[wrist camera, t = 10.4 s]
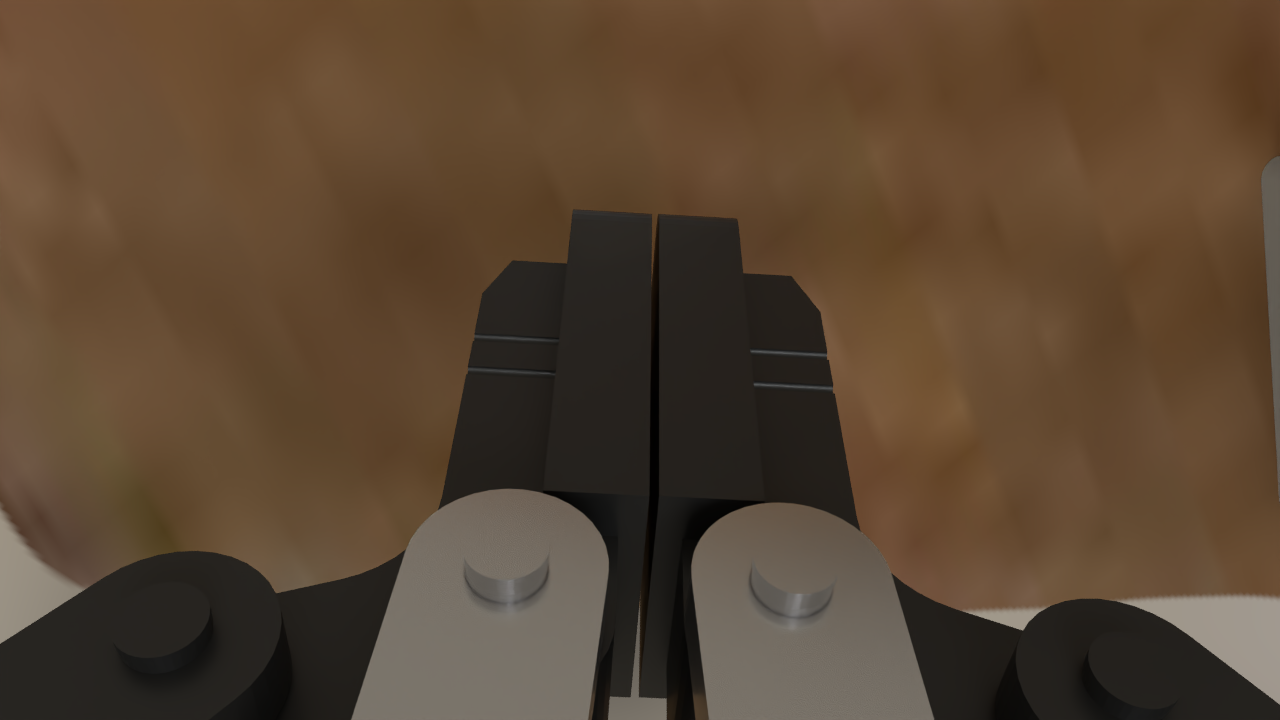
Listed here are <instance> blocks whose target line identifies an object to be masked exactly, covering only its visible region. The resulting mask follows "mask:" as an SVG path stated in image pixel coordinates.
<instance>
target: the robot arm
mask: <svg viewBox="0 0 1280 720" xmlns="http://www.w3.org/2000/svg"><path fill="white" fill-rule="evenodd" d="M651 259H652V214H643V213H626V212H609V211H591V210H574V209H573V215H572V223H571V233H570V242H569V251H568V261H567V264H563V263H545V262H528V261H512V262H511V263H510V264H509V265H508V266H507V267H506V268H505V269H504V270H503V272H502V273H501V274H500V275H499V276H498V277H497V278H496V279H495V280H494V281H493V283H492V284H491V285H490V286H489V287H488V288H487V289H486V290H485V291H484V292H483V294H482V299H481V304H480V309H479V314H478V319H477V324H476V329H475V338H474V341H473V344H472V349H471V354H470V359H469V364H468V374H466V379H465V384H464V389H463V394H462V399H461V404H460V409H459V414H458V419H457V424H456V429H455V434H454V439H453V444H452V450H451V455H450V460H449V465H448V470H447V475H446V480H445V485H444V490H443V495H442V499H441V502H440V505H439V508H438V511H437V512H435V513H434V514H432V515H431V516H430V517H429V518H428V519H427V520H426V521H425V522H424V523H423V524H422V525H421V526H420V527H419V528H418V530H417V531H416V532H415V534H414V535H413V537H412V538H411V540H410V542H409V545H408V547H407V549H406V550H405V551H403V552H402V553H400V554H399V555H398V556H396V557H395V558H393V559H391V560H390V561H388V562H386V563H384V564H382V565H380V566H379V567H376V568H374V569H371V570H369V571H366V572H364V573H362V574H359V575H355V576H352V577H348V578H344V579H341V580H336V581H332V582H327V583H322V584H318V585H313V586H309V587H304V588H299V589H295V590H290V591H286V592H281V593H275V591H274V590H273V588H272V586H271V585H270V583H269V582H268V581H267V580H266V578H265V577H264V576H263V575H262V574H261V573H260V572H259V571H257V570H256V569H254V568H253V567H251V566H250V565H248V564H247V563H245V562H242V561H240V560H238V559H235V558H233V557H230V556H226V555H222V554H218V553H212V552H201V551H187V552H174V553H168V554H162V555H157V556H154V557H150V558H147V559H143V560H140V561H137V562H135V563H132V564H130V565H128V566H125V567H123V568H120V569H119V570H117V571H115V572H113V573H111V574H110V575H108V576H106V577H104V578H103V579H101V580H99V581H98V582H96V583H95V584H93V585H92V586H90V587H89V588H87V589H85V590H84V591H82V592H81V593H79V594H78V595H76V596H75V597H73V598H72V599H70V600H68V601H67V602H65V603H63V604H62V605H60V606H59V607H57V608H56V609H54V610H53V611H51V612H49V613H48V614H46V615H45V616H43V617H42V618H40V619H39V620H37V621H36V622H34V623H32V624H31V625H29V626H28V627H26V628H24V629H23V630H21V631H20V632H18V633H17V634H15V635H14V636H12V637H10V638H9V639H7V640H6V641H4V642H2V643H1V644H0V720H608V712H609V699H610V696H613V697H631V687H632V676H633V665H634V654H635V644H636V634H637V623H638V612H639V602H640V658H639V697H647V698H667V720H1280V705H1279V704H1278V703H1277V702H1275V701H1274V700H1273V699H1271V698H1270V697H1269V696H1268V695H1266V694H1265V693H1263V692H1262V691H1261V690H1260V689H1258V688H1257V687H1256V686H1254V685H1253V684H1252V683H1251V682H1249V681H1248V680H1247V679H1245V678H1244V677H1243V676H1241V675H1240V674H1238V673H1237V672H1236V671H1235V670H1233V669H1232V668H1231V667H1229V666H1228V665H1227V664H1226V663H1224V662H1223V661H1222V660H1220V659H1219V658H1218V657H1216V656H1215V655H1214V654H1212V653H1211V652H1210V651H1209V650H1207V649H1206V648H1204V647H1203V646H1202V645H1201V644H1199V643H1198V642H1197V641H1195V640H1194V639H1193V638H1191V637H1190V636H1189V635H1187V634H1186V633H1184V632H1183V631H1182V630H1180V629H1179V628H1177V627H1176V626H1174V625H1173V624H1171V623H1169V622H1168V621H1166V620H1164V619H1162V618H1160V617H1158V616H1156V615H1154V614H1153V613H1150V612H1147V611H1145V610H1142V609H1140V608H1137V607H1135V606H1131V605H1128V604H1124V603H1120V602H1116V601H1109V600H1102V599H1077V600H1070V601H1064V602H1061V603H1058V604H1055V605H1052V606H1050V607H1048V608H1046V609H1045V610H1043V611H1041V612H1039V613H1038V614H1037V615H1036V616H1035V617H1034V618H1033V619H1032V620H1031V621H1029V623H1028V624H1027V626H1026V627H1025V629H1024V630H1023V631H1022V630H1019V629H1016V628H1013V627H1009V626H1006V625H1003V624H1000V623H997V622H994V621H991V620H987V619H984V618H981V617H978V616H975V615H972V614H969V613H966V612H963V611H959V610H956V609H953V608H951V607H948V606H946V605H943V604H940V603H938V602H935V601H933V600H931V599H929V598H927V597H925V596H924V595H922V594H920V593H918V592H916V591H915V590H913V589H912V588H910V587H909V586H907V585H906V584H904V583H903V582H901V581H900V580H899V579H898V578H897V577H895V576H894V575H893V574H892V573H891V572H890V570H889V567H888V565H887V562H886V561H885V559H884V558H883V556H882V554H881V553H880V551H879V550H878V549H877V547H876V546H875V545H874V544H873V543H872V542H871V541H870V540H869V538H868V537H866V536H865V535H864V534H863V533H862V532H861V531H860V527H859V524H858V520H857V516H856V511H855V505H854V499H853V494H852V488H851V483H850V477H849V471H848V466H847V460H846V454H845V449H844V443H843V438H842V432H841V426H840V421H839V415H838V410H837V404H836V398H835V394H833V381H832V376H831V370H830V365H829V360H827V348H826V342H825V336H824V331H823V325H822V320H821V314H820V311H819V310H818V309H817V308H816V306H815V305H814V304H813V303H812V301H811V300H810V299H809V298H808V296H807V295H806V294H805V293H804V291H803V290H802V289H801V288H800V286H799V285H798V284H797V283H796V281H795V280H794V279H793V278H792V277H791V276H780V275H763V274H745V273H743V268H742V257H741V247H740V237H739V227H738V221H737V219H734V218H717V217H700V216H683V215H665V214H658V219H657V227H656V238H655V250H654V262H653V274H652V287H651ZM640 591H641V592H640Z"/></svg>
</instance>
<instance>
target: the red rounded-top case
mask: <svg viewBox="0 0 1280 720" xmlns="http://www.w3.org/2000/svg"><path fill="white" fill-rule="evenodd" d="M1261 186H1262V204H1263V222H1264V239H1265V257H1266V275H1267V293H1268V310H1269V328H1270V346H1271V364H1272V381H1273V399H1274V417H1275V435H1276V452H1277V470H1278V488H1279V502H1280V156H1277V157H1275V158H1273V159H1271V161H1270V162H1269V163H1268V164H1267V165H1266V166H1265V168H1264V170H1263V172H1262V178H1261Z"/></svg>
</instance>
